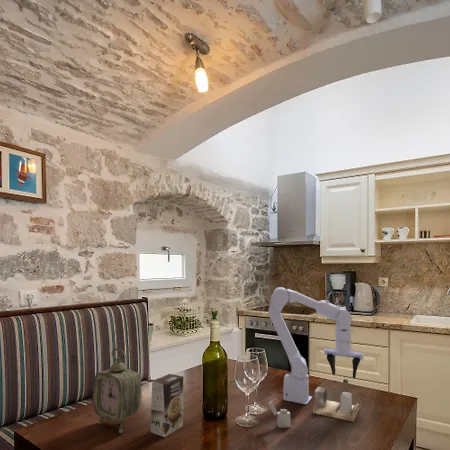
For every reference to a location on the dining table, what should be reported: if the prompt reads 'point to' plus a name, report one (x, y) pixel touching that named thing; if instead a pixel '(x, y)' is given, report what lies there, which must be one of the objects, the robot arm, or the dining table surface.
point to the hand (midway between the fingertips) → (343, 375)
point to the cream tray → (331, 406)
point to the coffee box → (167, 404)
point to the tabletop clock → (117, 392)
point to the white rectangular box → (346, 402)
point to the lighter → (281, 416)
